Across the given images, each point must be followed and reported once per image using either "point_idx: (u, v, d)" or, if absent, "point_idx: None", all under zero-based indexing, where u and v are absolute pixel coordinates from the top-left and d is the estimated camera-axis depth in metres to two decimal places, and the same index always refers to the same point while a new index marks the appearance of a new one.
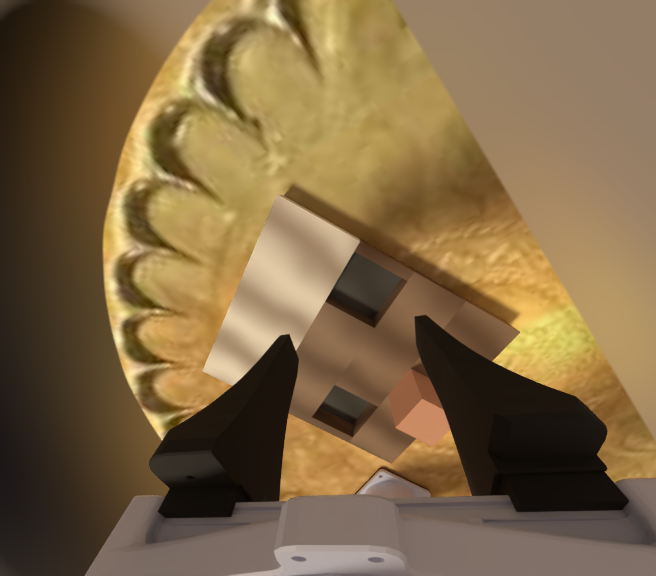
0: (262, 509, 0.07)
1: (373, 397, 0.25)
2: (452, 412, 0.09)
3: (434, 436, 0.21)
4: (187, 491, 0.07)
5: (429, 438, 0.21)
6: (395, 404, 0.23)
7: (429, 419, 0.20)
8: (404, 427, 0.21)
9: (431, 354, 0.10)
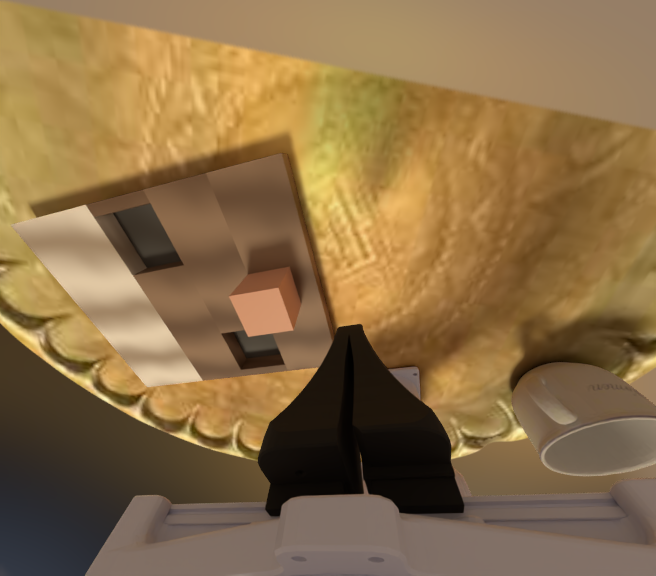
0: (262, 509, 0.07)
1: None
2: None
3: (282, 320, 0.18)
4: (292, 487, 0.07)
5: (281, 325, 0.19)
6: None
7: (259, 309, 0.18)
8: (253, 331, 0.19)
9: None
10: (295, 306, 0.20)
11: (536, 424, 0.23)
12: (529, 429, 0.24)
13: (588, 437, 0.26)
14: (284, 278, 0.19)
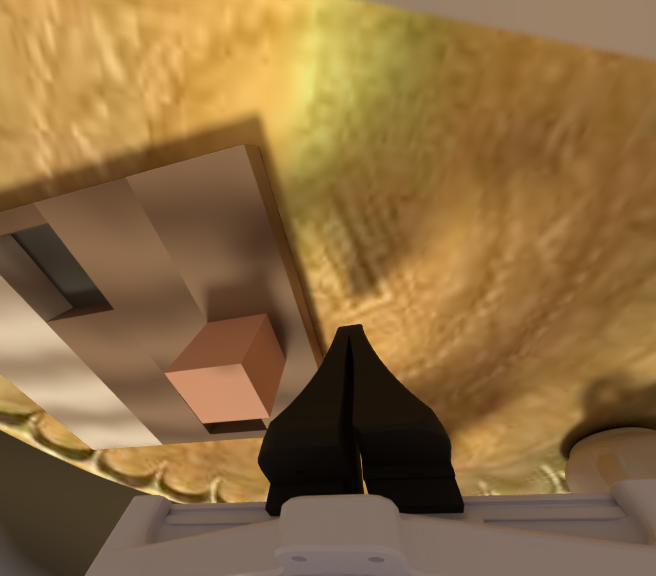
0: (262, 509, 0.07)
1: None
2: None
3: (251, 404, 0.12)
4: (293, 487, 0.07)
5: (251, 411, 0.12)
6: None
7: (214, 390, 0.11)
8: (208, 416, 0.12)
9: None
10: (274, 373, 0.14)
11: None
12: None
13: None
14: (255, 338, 0.12)
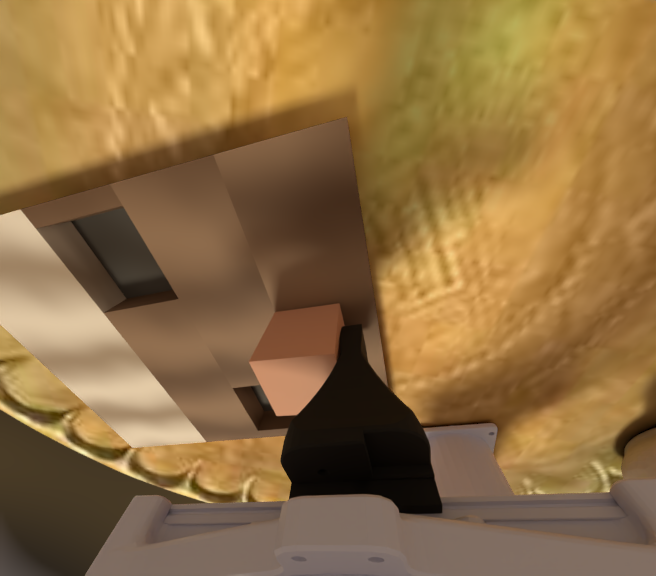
0: (262, 509, 0.07)
1: None
2: None
3: None
4: (315, 486, 0.07)
5: None
6: None
7: (297, 381, 0.11)
8: (284, 409, 0.12)
9: None
10: None
11: None
12: None
13: None
14: (337, 328, 0.11)
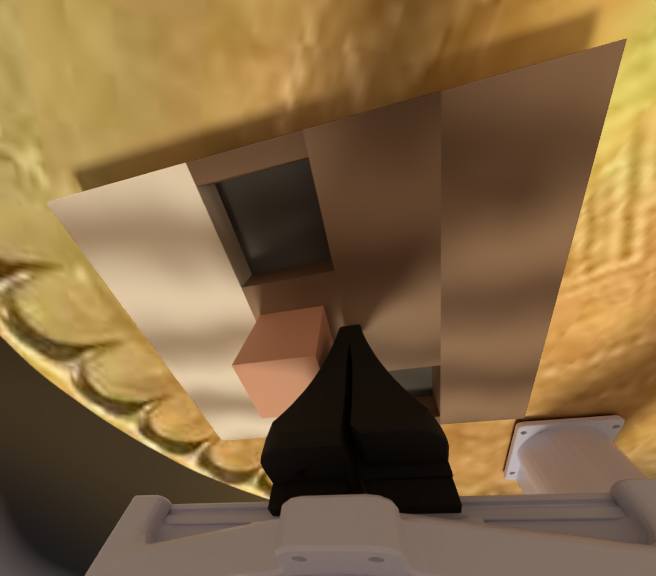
0: (262, 509, 0.07)
1: (422, 358, 0.15)
2: None
3: None
4: (295, 487, 0.07)
5: None
6: None
7: (281, 384, 0.11)
8: (269, 411, 0.12)
9: None
10: None
11: None
12: None
13: None
14: (320, 330, 0.12)
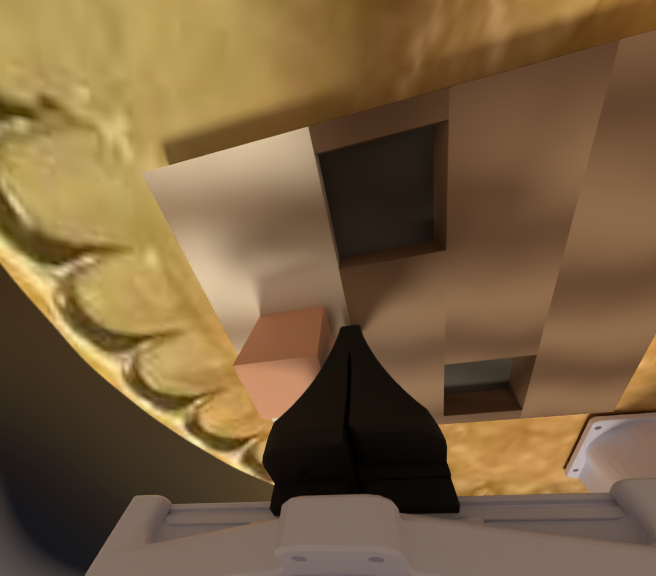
0: (262, 509, 0.07)
1: (519, 347, 0.14)
2: None
3: None
4: (297, 487, 0.07)
5: None
6: None
7: (282, 384, 0.11)
8: (270, 412, 0.12)
9: None
10: None
11: None
12: None
13: None
14: (321, 330, 0.12)
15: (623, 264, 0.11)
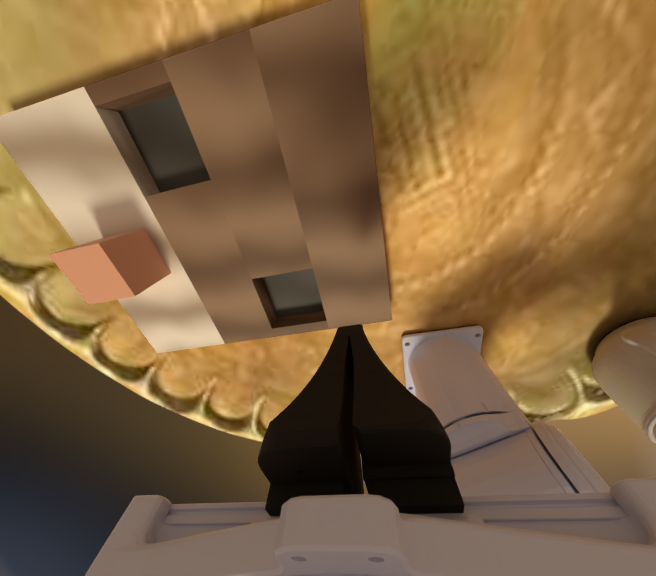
0: (262, 509, 0.07)
1: (297, 261, 0.19)
2: None
3: (118, 283, 0.16)
4: (292, 487, 0.07)
5: (120, 290, 0.16)
6: None
7: (87, 270, 0.16)
8: (91, 297, 0.17)
9: None
10: (149, 272, 0.18)
11: (642, 386, 0.19)
12: (628, 394, 0.20)
13: None
14: (123, 236, 0.16)
15: (333, 189, 0.16)
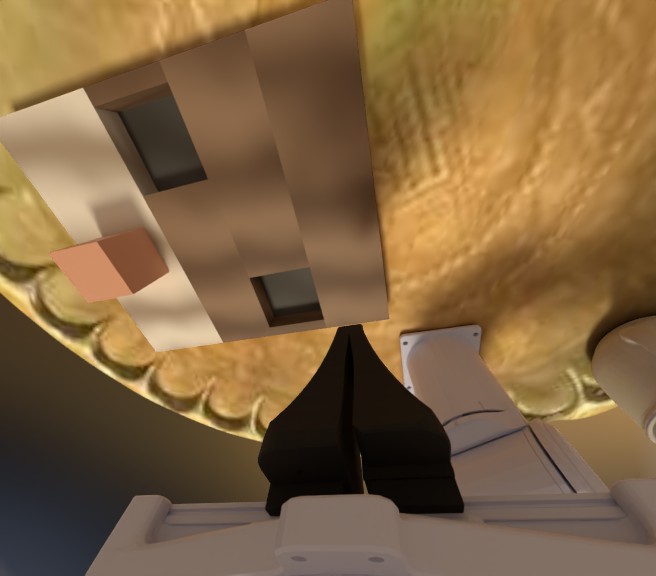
0: (262, 509, 0.07)
1: (294, 260, 0.19)
2: None
3: (116, 281, 0.16)
4: (293, 487, 0.07)
5: (118, 288, 0.17)
6: None
7: (86, 268, 0.16)
8: (90, 295, 0.17)
9: None
10: (147, 270, 0.18)
11: (641, 386, 0.19)
12: (628, 394, 0.20)
13: None
14: (121, 235, 0.17)
15: (329, 188, 0.16)
